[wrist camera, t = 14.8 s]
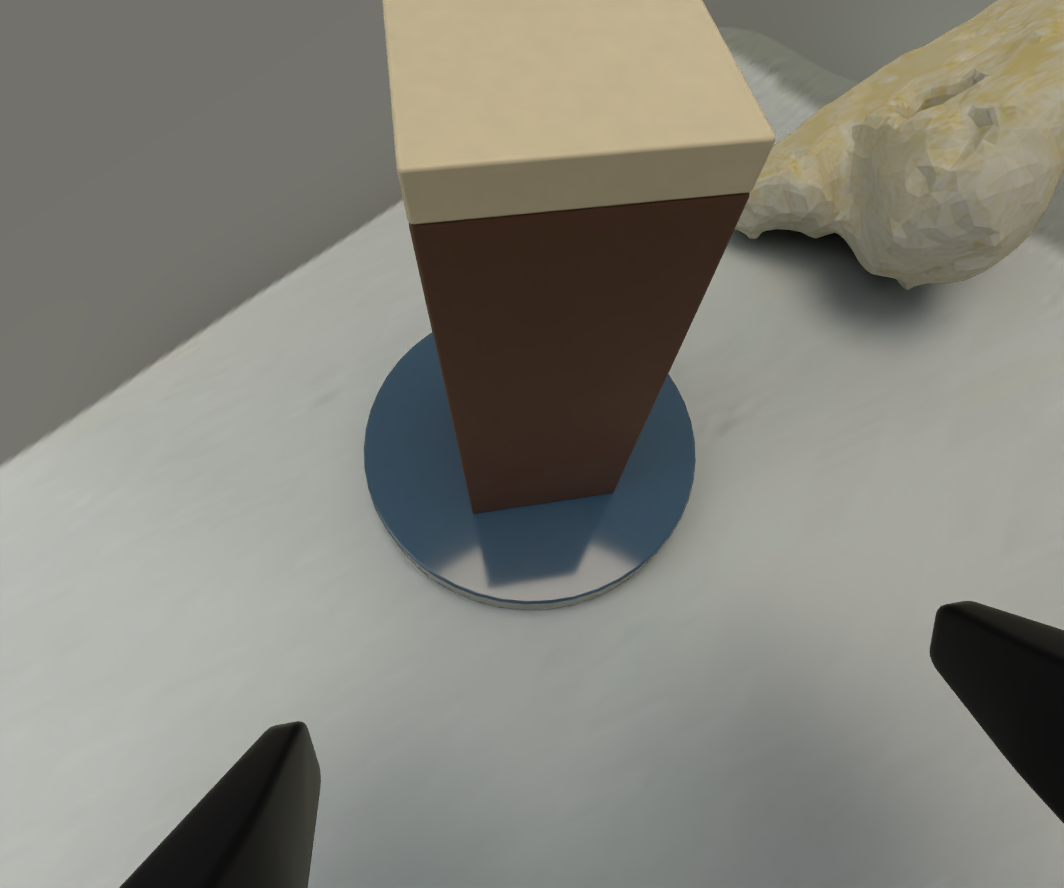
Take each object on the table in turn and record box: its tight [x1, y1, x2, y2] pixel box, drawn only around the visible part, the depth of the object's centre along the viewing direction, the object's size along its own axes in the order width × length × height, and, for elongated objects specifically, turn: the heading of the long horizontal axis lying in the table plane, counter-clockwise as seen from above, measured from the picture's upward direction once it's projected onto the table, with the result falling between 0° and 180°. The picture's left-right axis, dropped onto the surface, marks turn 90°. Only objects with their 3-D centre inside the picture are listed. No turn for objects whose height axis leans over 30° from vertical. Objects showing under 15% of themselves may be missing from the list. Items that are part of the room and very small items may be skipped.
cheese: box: [735, 0, 1064, 290], centre depth 22 cm, size 15×7×15 cm
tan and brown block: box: [382, 0, 776, 513], centre depth 13 cm, size 5×4×12 cm
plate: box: [364, 332, 695, 610], centre depth 19 cm, size 11×11×1 cm
